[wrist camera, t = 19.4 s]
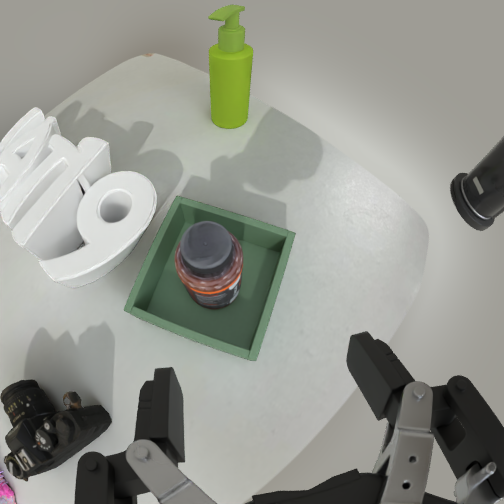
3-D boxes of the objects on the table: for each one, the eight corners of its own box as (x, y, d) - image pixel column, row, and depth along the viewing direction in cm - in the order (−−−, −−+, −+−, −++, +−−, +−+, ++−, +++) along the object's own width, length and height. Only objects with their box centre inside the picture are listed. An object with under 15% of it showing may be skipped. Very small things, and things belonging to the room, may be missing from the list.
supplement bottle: (250, 295, 32) (260, 261, 21) (201, 319, 30) (185, 296, 20) (226, 250, 33) (224, 198, 23) (179, 272, 32) (156, 228, 21)
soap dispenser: (200, 125, 42) (193, 12, 23) (223, 102, 44) (224, -1, 26) (233, 137, 41) (237, 18, 23) (253, 112, 44) (265, 5, 25)
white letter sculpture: (-1, 193, 35) (-31, 160, 25) (59, 130, 41) (38, 91, 31) (99, 331, 29) (50, 316, 20) (185, 230, 35) (170, 181, 25)
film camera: (50, 343, 28) (0, 331, 19) (122, 405, 26) (81, 418, 17) (10, 434, 22) (-34, 441, 12) (73, 494, 20) (35, 519, 11)
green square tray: (286, 251, 35) (295, 232, 30) (252, 361, 30) (256, 361, 25) (183, 217, 35) (176, 195, 31) (139, 318, 30) (123, 310, 26)
